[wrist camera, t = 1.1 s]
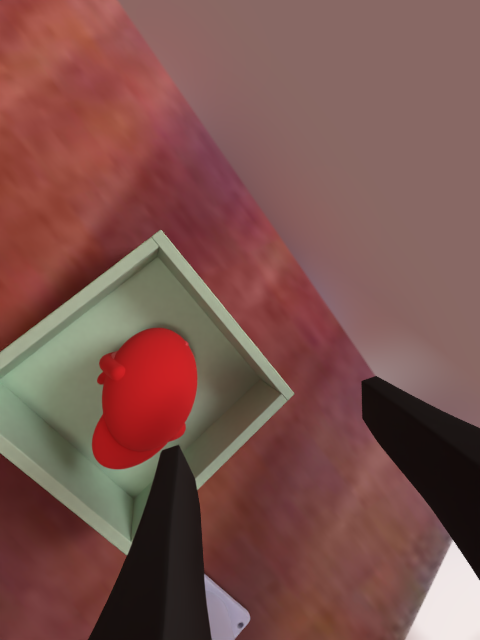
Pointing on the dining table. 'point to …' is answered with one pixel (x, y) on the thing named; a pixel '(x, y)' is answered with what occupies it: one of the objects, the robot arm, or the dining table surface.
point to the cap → (144, 397)
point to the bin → (86, 394)
